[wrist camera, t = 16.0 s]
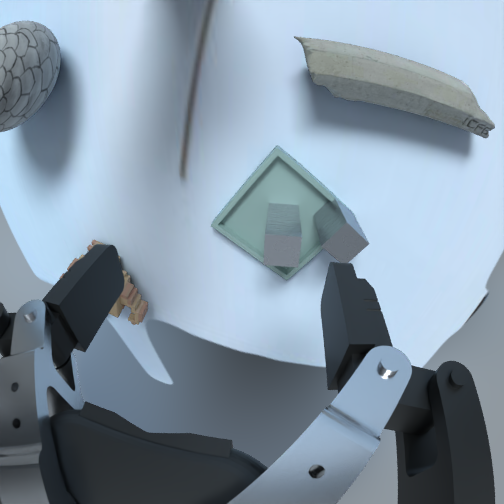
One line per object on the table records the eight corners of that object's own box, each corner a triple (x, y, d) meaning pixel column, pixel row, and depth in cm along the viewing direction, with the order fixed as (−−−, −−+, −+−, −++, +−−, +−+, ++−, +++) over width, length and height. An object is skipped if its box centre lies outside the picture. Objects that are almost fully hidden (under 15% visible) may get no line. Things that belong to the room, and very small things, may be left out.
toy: (47, 257, 40) (65, 313, 53) (135, 300, 42) (136, 348, 55) (75, 225, 47) (84, 284, 60) (157, 260, 49) (151, 315, 62)
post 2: (313, 213, 42) (321, 246, 34) (332, 193, 40) (346, 222, 32) (332, 230, 43) (344, 265, 35) (352, 212, 41) (369, 243, 33)
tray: (213, 220, 45) (210, 225, 43) (277, 145, 37) (276, 147, 36) (286, 273, 49) (286, 280, 47) (353, 213, 41) (356, 218, 40)
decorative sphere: (9, 93, 32) (-61, 116, 15) (48, 12, 23) (-29, 11, 6) (52, 136, 38) (-27, 172, 21) (101, 45, 29) (8, 42, 12)
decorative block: (468, 133, 31) (495, 143, 25) (292, 93, 33) (295, 93, 27) (472, 91, 27) (500, 95, 20) (294, 43, 29) (297, 32, 22)
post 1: (267, 228, 44) (263, 265, 36) (268, 202, 42) (264, 234, 33) (295, 230, 44) (298, 267, 35) (298, 204, 41) (302, 236, 33)
